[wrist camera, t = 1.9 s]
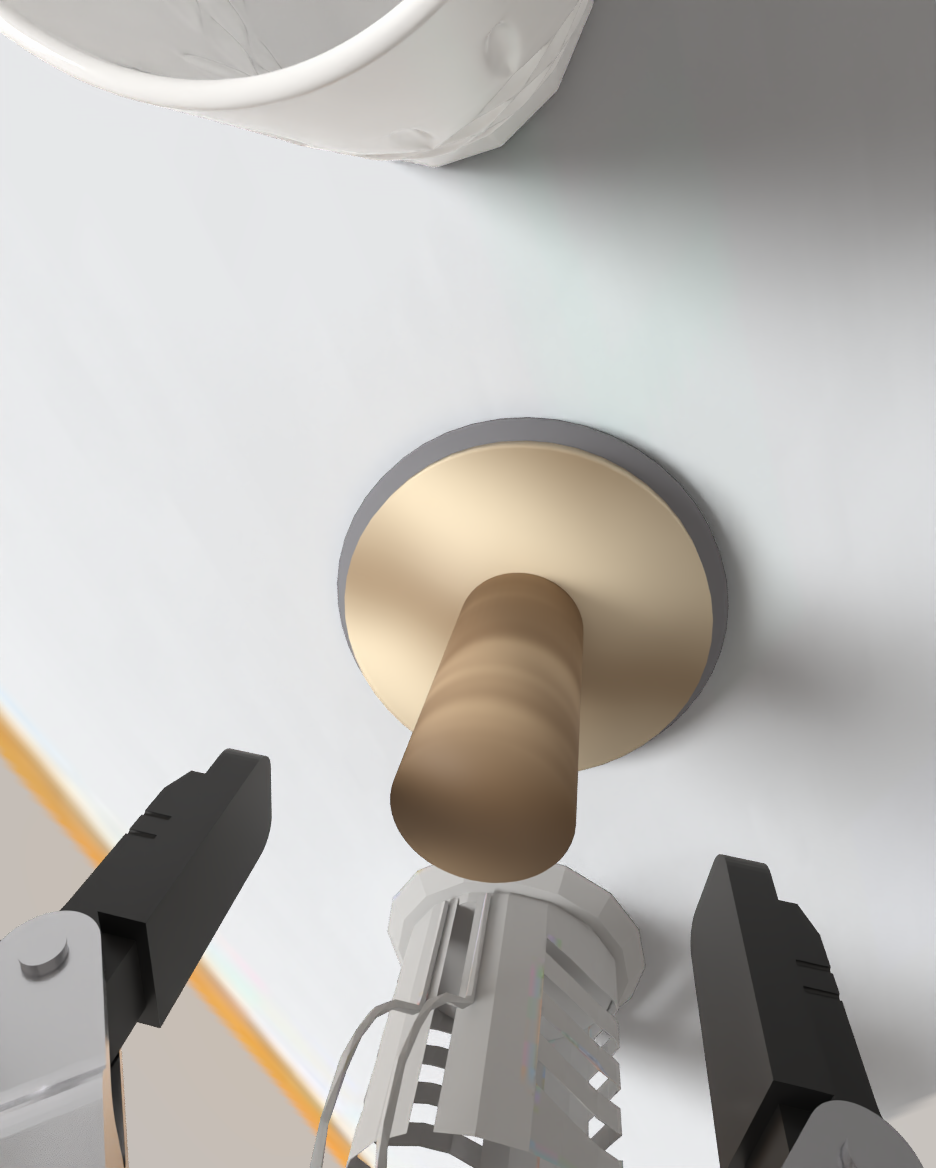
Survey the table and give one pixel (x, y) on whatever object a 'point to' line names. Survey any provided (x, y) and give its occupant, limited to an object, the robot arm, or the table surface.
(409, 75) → the white cup
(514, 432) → the mat
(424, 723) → the lid
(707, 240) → the table surface
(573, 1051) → the french press
